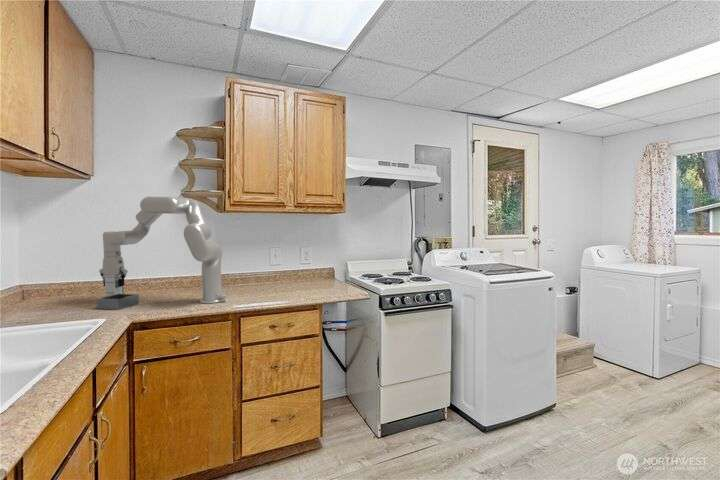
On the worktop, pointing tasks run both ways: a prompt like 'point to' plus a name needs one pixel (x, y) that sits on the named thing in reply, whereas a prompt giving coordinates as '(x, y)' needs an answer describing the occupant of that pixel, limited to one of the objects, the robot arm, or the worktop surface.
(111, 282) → the syrup box
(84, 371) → the worktop surface
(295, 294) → the worktop surface
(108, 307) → the grey square tray
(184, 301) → the worktop surface
